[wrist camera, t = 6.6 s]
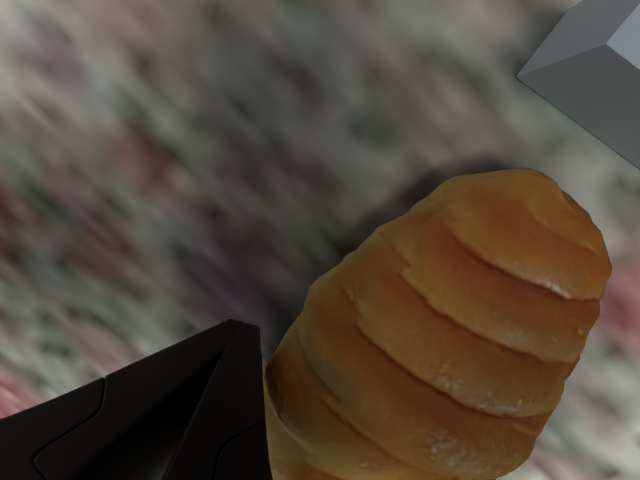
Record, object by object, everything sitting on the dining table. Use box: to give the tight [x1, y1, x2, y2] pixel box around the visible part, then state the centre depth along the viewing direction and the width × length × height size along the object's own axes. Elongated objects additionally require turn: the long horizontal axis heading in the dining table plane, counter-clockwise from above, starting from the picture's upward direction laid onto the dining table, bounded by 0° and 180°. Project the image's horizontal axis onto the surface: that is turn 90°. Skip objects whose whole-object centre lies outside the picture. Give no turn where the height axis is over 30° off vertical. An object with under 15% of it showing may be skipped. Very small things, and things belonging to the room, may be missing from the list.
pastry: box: [262, 168, 612, 480], centre depth 8 cm, size 9×7×4 cm
